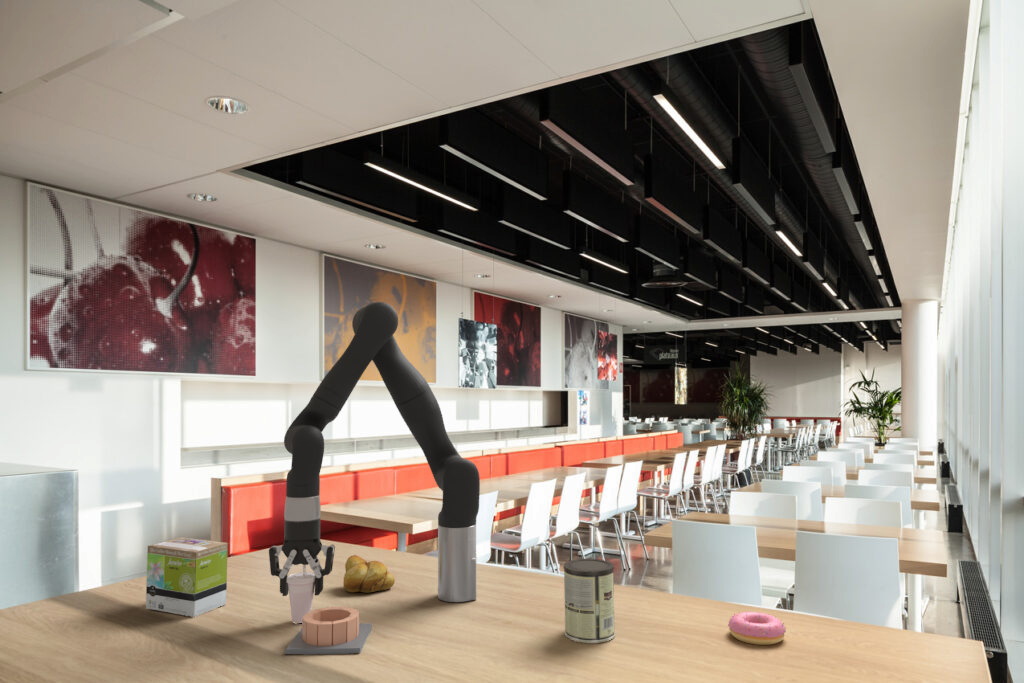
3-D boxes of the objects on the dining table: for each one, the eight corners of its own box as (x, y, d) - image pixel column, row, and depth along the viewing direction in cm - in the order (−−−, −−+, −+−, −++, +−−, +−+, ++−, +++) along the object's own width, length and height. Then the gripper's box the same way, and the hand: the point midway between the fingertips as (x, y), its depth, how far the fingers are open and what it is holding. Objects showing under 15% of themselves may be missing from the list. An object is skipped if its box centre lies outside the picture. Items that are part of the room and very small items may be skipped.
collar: (371, 628, 147) (372, 603, 148) (359, 653, 133) (360, 626, 134) (304, 629, 147) (304, 604, 147) (285, 654, 133) (285, 627, 133)
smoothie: (307, 627, 148) (308, 559, 149) (279, 625, 149) (280, 558, 150) (321, 617, 154) (322, 552, 155) (294, 615, 155) (295, 551, 156)
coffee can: (571, 624, 150) (570, 556, 150) (619, 629, 146) (618, 560, 147) (558, 640, 140) (557, 568, 141) (609, 646, 136) (608, 572, 137)
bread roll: (397, 585, 180) (398, 553, 180) (388, 596, 170) (389, 562, 170) (348, 584, 181) (349, 552, 181) (336, 595, 171) (337, 562, 171)
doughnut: (716, 633, 144) (716, 612, 144) (758, 625, 149) (758, 605, 149) (754, 651, 134) (754, 629, 134) (798, 643, 139) (797, 621, 139)
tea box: (143, 610, 160) (145, 544, 161) (179, 598, 169) (181, 535, 170) (193, 618, 154) (195, 550, 155) (228, 605, 163) (229, 540, 164)
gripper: (339, 513, 157) (338, 589, 156) (274, 513, 157) (273, 590, 156) (332, 519, 150) (331, 599, 149) (263, 520, 149) (262, 600, 148)
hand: (301, 594), depth 152 cm, fingers closed on smoothie, 6 cm apart
